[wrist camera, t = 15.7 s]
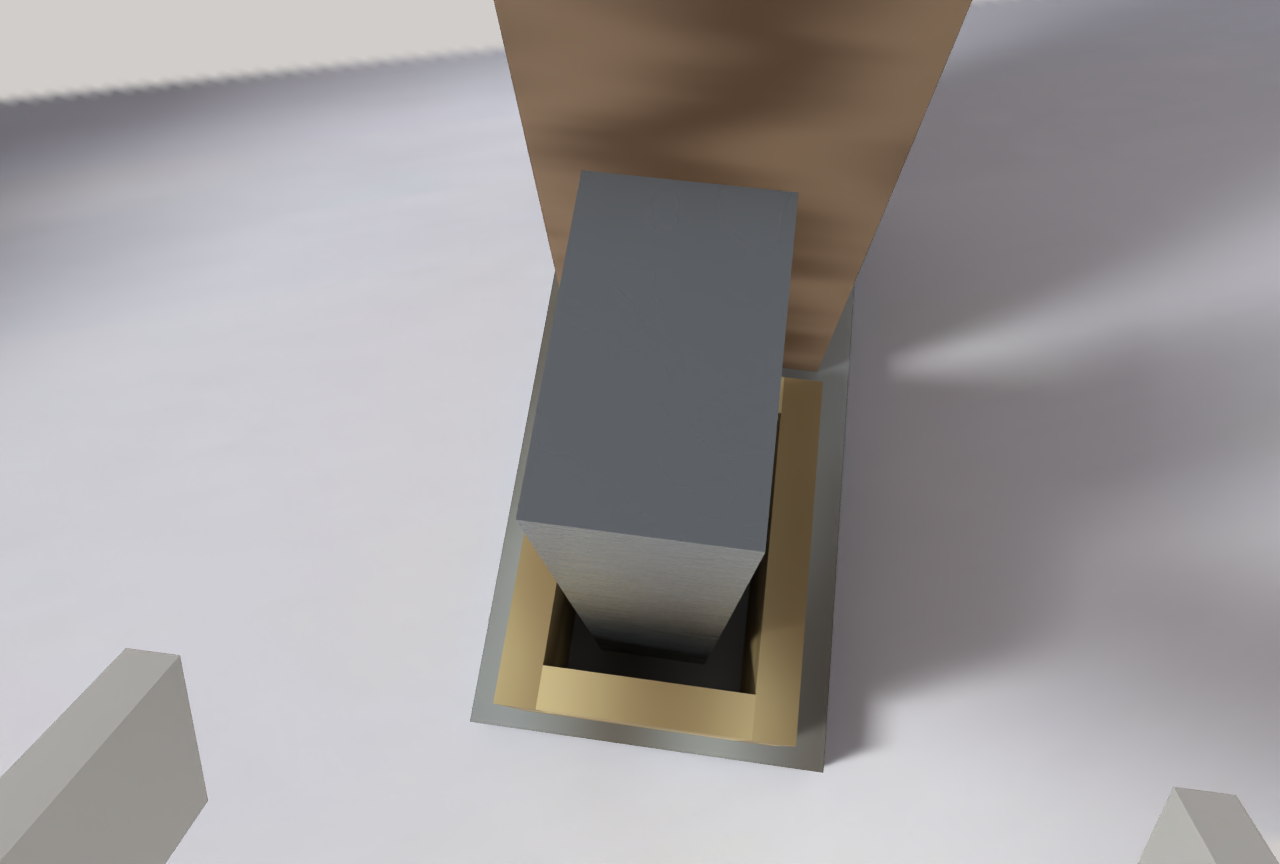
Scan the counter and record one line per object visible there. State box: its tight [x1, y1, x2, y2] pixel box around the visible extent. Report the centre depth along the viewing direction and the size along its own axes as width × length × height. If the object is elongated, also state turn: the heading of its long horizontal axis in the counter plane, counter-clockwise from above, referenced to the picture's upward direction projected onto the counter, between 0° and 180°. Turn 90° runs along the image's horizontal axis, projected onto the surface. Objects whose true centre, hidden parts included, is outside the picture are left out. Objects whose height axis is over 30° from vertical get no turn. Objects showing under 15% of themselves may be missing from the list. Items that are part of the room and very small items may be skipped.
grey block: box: [516, 170, 799, 665], centre depth 19 cm, size 3×5×16 cm, turn 172°
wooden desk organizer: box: [470, 0, 972, 772], centre depth 18 cm, size 10×20×24 cm, turn 172°
